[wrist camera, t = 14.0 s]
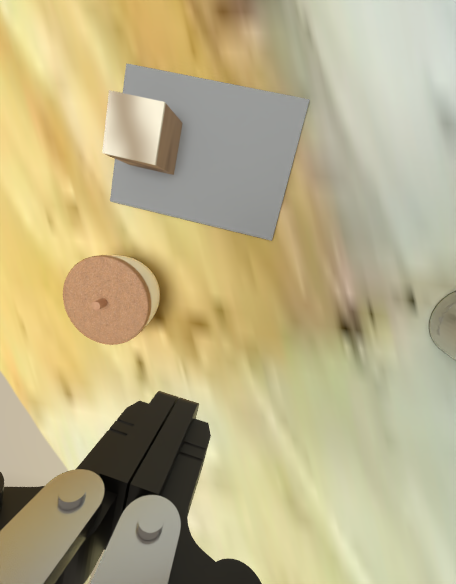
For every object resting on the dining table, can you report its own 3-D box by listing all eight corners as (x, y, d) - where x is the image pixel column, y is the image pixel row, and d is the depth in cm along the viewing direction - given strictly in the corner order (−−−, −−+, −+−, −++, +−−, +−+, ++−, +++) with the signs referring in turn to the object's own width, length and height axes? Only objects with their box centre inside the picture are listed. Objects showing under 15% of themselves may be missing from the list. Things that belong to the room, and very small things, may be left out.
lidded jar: (99, 317, 42) (52, 342, 33) (100, 245, 40) (50, 250, 31) (168, 329, 41) (139, 358, 32) (174, 256, 38) (144, 265, 29)
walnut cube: (109, 90, 29) (136, 113, 35) (102, 152, 30) (129, 164, 36) (164, 101, 28) (182, 123, 34) (155, 164, 30) (173, 175, 36)
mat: (309, 101, 32) (309, 99, 32) (271, 240, 36) (271, 240, 36) (128, 65, 34) (126, 63, 34) (111, 201, 38) (110, 201, 38)
